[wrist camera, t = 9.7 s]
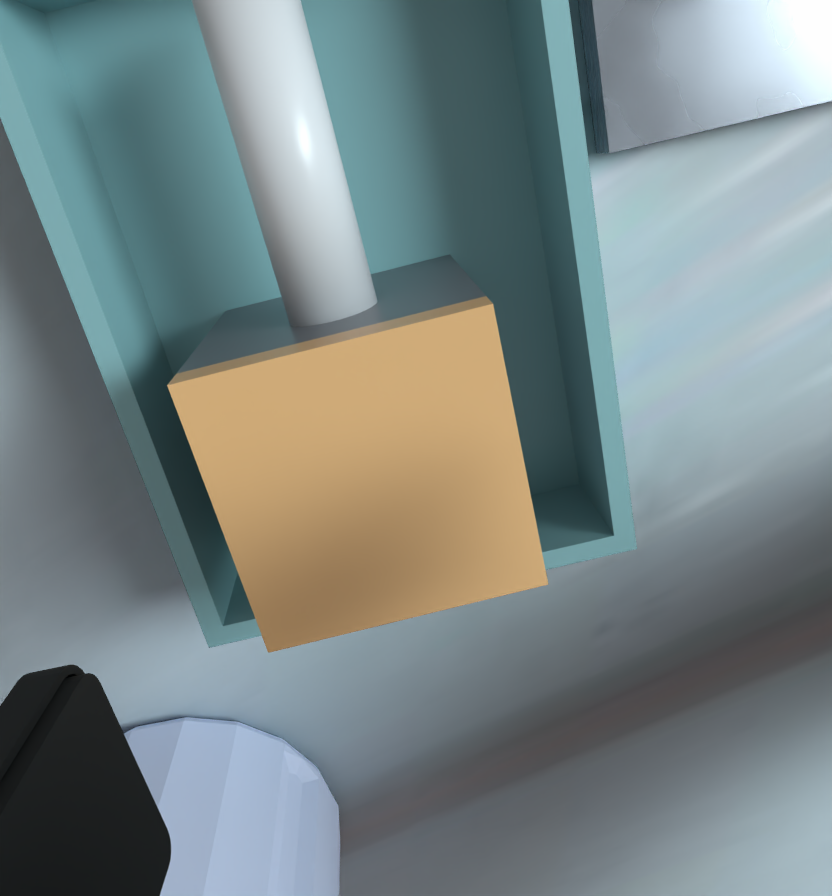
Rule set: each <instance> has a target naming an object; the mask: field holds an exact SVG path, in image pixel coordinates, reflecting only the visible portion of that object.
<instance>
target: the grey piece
mask: <svg viewBox="0 0 832 896" xmlns="http://www.w3.org/2000/svg"><path fill="white" fill-rule="evenodd" d="M578 2H579V11H580V19H581V27H582V36H583V44H584V52H585V61H586V69H587V77H588V86H589V94H590V102H591V110H592V119H593V127H594V135H595V144H596V152H597V153H613V152H618V151H622V150H626V149H630V148H635V147H639V146H643V145H647V144H651V143H656V142H660V141H664V140H668V139H672V138H677V137H681V136H685V135H689V134H694V133H698V132H702V131H706V130H710V129H715V128H719V127H723V126H727V125H732V124H736V123H740V122H744V121H748V120H753V119H757V118H761V117H765V116H769V115H774V114H778V113H782V112H786V111H791V110H795V109H799V108H803V107H807V106H812V105H816V104H820V103H824V102H829V101H832V0H578Z"/></svg>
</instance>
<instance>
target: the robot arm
mask: <svg viewBox="0 0 832 896" xmlns="http://www.w3.org/2000/svg"><path fill="white" fill-rule="evenodd" d="M170 859H171V840H170V835H169V832H168V829H167V827H166V825H165V823H164V820H163V818H162V816H161V814H160V812H159V809H158V807H157V805H156V803H155V801H154V799H153V796H152V794H151V792H150V790H149V788H148V786H147V783H146V781H145V779H144V777H143V775H142V773H141V770H140V768H139V766H138V764H137V762H136V759H135V757H134V755H133V753H132V751H131V749H130V746H129V744H128V742H127V740H126V738H125V736H124V733H123V731H122V729H121V727H120V725H119V723H118V720H117V718H116V716H115V714H114V712H113V709H112V707H111V705H110V703H109V701H108V699H107V696H106V694H105V692H104V690H103V688H102V686H101V683H100V682H99V680H98V678H97V677H96V676H95V675H93V674H90V673H87V674H85V673H84V672H83V670H82V669H80V668H79V667H78V666H76V665H67V666H62V667H57V668H52V669H47V670H42V671H37V672H32V673H29V674H26V675H23V676H22V677H21V678H20V679H19V680H18V682H17V683H16V684H15V686H14V687H13V689H12V690H11V691H10V693H9V694H8V696H7V697H6V699H5V700H4V701H3V703H2V704H1V706H0V896H160V893H161V890H162V887H163V884H164V880H165V877H166V874H167V871H168V868H169V864H170Z"/></svg>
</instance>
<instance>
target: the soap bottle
mask: <svg viewBox="0 0 832 896" xmlns="http://www.w3.org/2000/svg"><path fill="white" fill-rule="evenodd" d="M124 736H125V738H126V740H127V742H128V744H129V746H130V749H131V751H132V753H133V755H134V757H135V759H136V762H137V764H138V766H139V768H140V770H141V773H142V775H143V777H144V779H145V781H146V783H147V786H148V788H149V790H150V792H151V794H152V796H153V799H154V801H155V803H156V805H157V807H158V809H159V812H160V814H161V816H162V818H163V820H164V823H165V825H166V827H167V829H168V832H169V835H170V840H171V859H170V864H169V868H168V871H167V874H166V877H165V880H164V884H163V887H162V890H161V893H160V896H339V883H340V826H339V806H338V805H337V803H336V801H335V799H334V797H333V795H332V794H331V792H330V790H329V788H328V786H327V784H326V783H325V781H324V779H323V777H322V775H321V773H320V772H319V770H318V768H317V766H315V765H314V764H313V763H312V762H310V761H309V760H308V759H307V758H306V757H304V756H303V755H302V754H301V753H299V752H298V751H297V750H296V749H295V748H293V747H292V746H291V745H290V744H288V743H287V742H286V741H285V740H284V739H281V738H279V737H276V736H274V735H271V734H268V733H266V732H263V731H261V730H258V729H255V728H253V727H250V726H248V725H245V724H242V723H240V722H236V721H225V720H213V719H201V718H190V717H185V718H180V719H174V720H169V721H164V722H159V723H154V724H148V725H143V726H138V727H135V728H133V729H131V730H130V731H128V732H126V733H124Z"/></svg>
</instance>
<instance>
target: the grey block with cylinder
mask: <svg viewBox="0 0 832 896" xmlns="http://www.w3.org/2000/svg"><path fill="white" fill-rule="evenodd" d="M192 3H193V7H194V10H195V13H196V16H197V20H198V23H199V26H200V30H201V33H202V36H203V40H204V43H205V46H206V49H207V53H208V56H209V59H210V63H211V66H212V69H213V72H214V76H215V79H216V82H217V86H218V89H219V92H220V96H221V99H222V102H223V105H224V109H225V112H226V115H227V119H228V122H229V125H230V129H231V132H232V135H233V138H234V142H235V145H236V148H237V152H238V155H239V158H240V161H241V165H242V168H243V171H244V175H245V178H246V181H247V185H248V188H249V191H250V194H251V198H252V201H253V204H254V208H255V211H256V214H257V218H258V221H259V224H260V227H261V231H262V234H263V237H264V241H265V244H266V247H267V250H268V254H269V257H270V260H271V264H272V267H273V270H274V274H275V277H276V280H277V283H278V287H279V290H280V293H281V297H279V298H275V299H271V300H267V301H263V302H259V303H255V304H251V305H247V306H243V307H239V308H235V309H231V310H227V311H225V312H224V313H223V315H222V316H221V317H220V318H219V320H218V321H217V322H216V324H215V325H214V326H213V327H212V329H211V330H210V331H209V333H208V334H207V335H206V336H205V338H204V339H203V340H202V341H201V343H200V344H199V345H198V347H197V348H196V349H195V350H194V352H193V353H192V354H191V356H190V357H189V358H188V359H187V361H186V362H185V363H184V365H183V366H182V367H181V368H180V370H179V371H178V372H177V373H176V375H175V376H174V377H173V379H172V380H171V381H170V382H169V384H168V385H167V386H168V389H169V391H170V394H171V397H172V399H173V402H174V405H175V407H176V410H177V413H178V415H179V418H180V421H181V423H182V426H183V428H184V431H185V434H186V436H187V439H188V442H189V444H190V447H191V450H192V452H193V455H194V458H195V460H196V463H197V465H198V468H199V471H200V473H201V476H202V479H203V481H204V484H205V487H206V489H207V492H208V495H209V497H210V500H211V502H212V505H213V508H214V510H215V513H216V516H217V518H218V521H219V524H220V526H221V529H222V532H223V534H224V537H225V540H226V542H227V545H228V547H229V550H230V553H231V555H232V558H233V561H234V563H235V566H236V569H237V571H238V574H239V577H240V579H241V582H242V584H243V587H244V590H245V592H246V595H247V598H248V600H249V603H250V606H251V608H252V611H253V614H254V616H255V619H256V621H257V624H258V627H259V629H260V632H261V635H262V637H263V640H264V643H265V645H266V648H267V651H268V653H269V652H273V651H277V650H281V649H286V648H290V647H294V646H298V645H302V644H306V643H310V642H314V641H318V640H322V639H327V638H331V637H335V636H339V635H343V634H347V633H351V632H355V631H359V630H364V629H368V628H372V627H376V626H380V625H384V624H388V623H392V622H396V621H400V620H405V619H409V618H413V617H417V616H421V615H425V614H429V613H433V612H437V611H441V610H446V609H450V608H454V607H458V606H462V605H466V604H470V603H474V602H478V601H482V600H487V599H491V598H495V597H499V596H503V595H507V594H511V593H515V592H519V591H523V590H528V589H532V588H536V587H540V586H544V585H548V580H547V575H546V570H545V565H544V560H543V555H542V549H541V544H540V539H539V534H538V529H537V524H536V519H535V514H534V509H533V504H532V499H531V494H530V489H529V484H528V478H527V473H526V468H525V463H524V458H523V453H522V448H521V443H520V438H519V433H518V428H517V423H516V418H515V413H514V407H513V402H512V397H511V392H510V387H509V382H508V377H507V372H506V367H505V362H504V357H503V352H502V347H501V342H500V336H499V331H498V326H497V321H496V316H495V311H494V306H493V303H492V302H491V301H490V300H489V299H488V297H487V296H486V295H485V294H484V293H483V292H482V291H481V289H480V288H479V287H478V286H477V285H476V284H475V283H474V281H473V280H472V279H471V278H470V277H469V276H468V275H467V273H466V272H465V271H464V270H463V269H462V268H461V267H460V266H459V264H458V263H457V262H456V261H455V260H454V259H453V258H452V256H451V255H450V254H449V255H445V256H441V257H437V258H433V259H429V260H425V261H421V262H417V263H413V264H410V265H406V266H402V267H398V268H394V269H390V270H386V271H382V272H378V273H374V274H370V270H369V266H368V262H367V258H366V254H365V250H364V247H363V243H362V239H361V235H360V231H359V227H358V223H357V219H356V215H355V211H354V207H353V203H352V200H351V196H350V192H349V188H348V184H347V180H346V176H345V172H344V168H343V164H342V160H341V156H340V153H339V149H338V145H337V141H336V137H335V133H334V129H333V125H332V121H331V117H330V113H329V110H328V106H327V102H326V98H325V94H324V90H323V86H322V82H321V78H320V74H319V70H318V66H317V63H316V59H315V55H314V51H313V47H312V43H311V39H310V35H309V31H308V27H307V23H306V19H305V16H304V12H303V8H302V4H301V0H192Z"/></svg>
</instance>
